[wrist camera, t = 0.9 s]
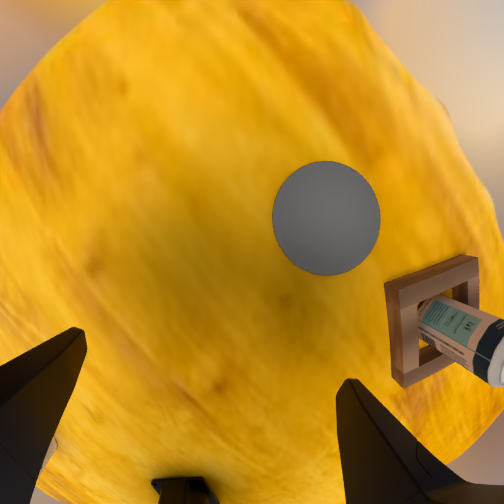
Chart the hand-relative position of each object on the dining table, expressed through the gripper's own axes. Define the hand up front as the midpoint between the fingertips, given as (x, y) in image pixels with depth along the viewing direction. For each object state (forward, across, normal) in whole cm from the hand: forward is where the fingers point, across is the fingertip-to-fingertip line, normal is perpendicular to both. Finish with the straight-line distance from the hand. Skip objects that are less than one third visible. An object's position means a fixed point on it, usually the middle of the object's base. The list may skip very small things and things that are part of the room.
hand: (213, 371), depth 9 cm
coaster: (+15, -7, -2) cm, 17 cm away
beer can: (+14, -20, +4) cm, 25 cm away
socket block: (+13, -20, +4) cm, 25 cm away
